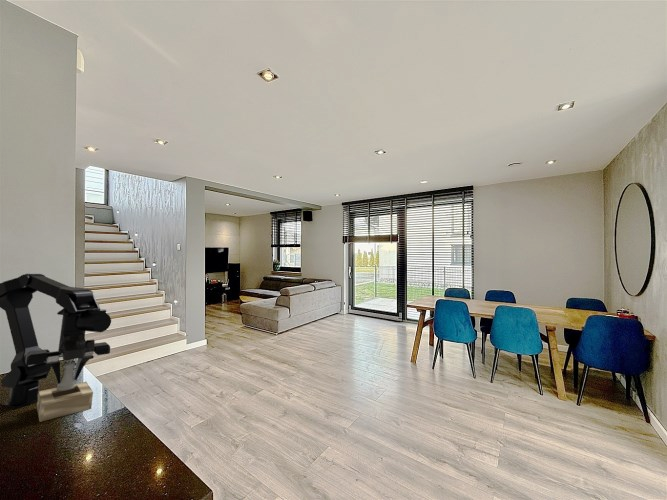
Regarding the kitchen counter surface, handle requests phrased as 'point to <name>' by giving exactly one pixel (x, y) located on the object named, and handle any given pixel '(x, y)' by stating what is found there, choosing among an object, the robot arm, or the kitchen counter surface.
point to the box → (64, 401)
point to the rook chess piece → (67, 377)
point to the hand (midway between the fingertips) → (67, 381)
